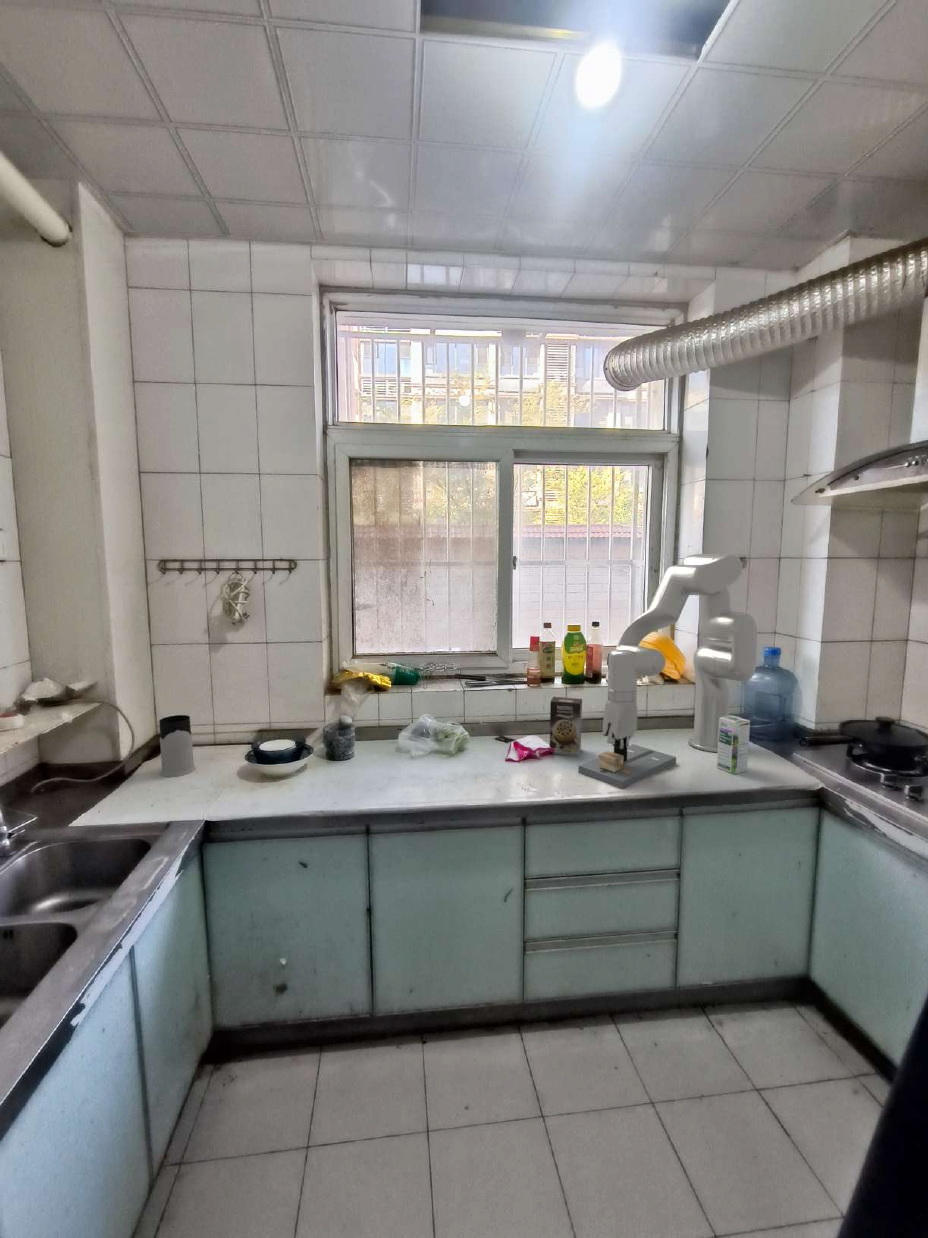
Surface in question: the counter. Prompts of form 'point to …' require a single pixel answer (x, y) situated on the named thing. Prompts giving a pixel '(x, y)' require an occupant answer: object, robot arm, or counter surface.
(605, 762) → the block
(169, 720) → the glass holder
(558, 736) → the cookie box
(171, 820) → the counter surface
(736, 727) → the syrup box
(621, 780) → the board
